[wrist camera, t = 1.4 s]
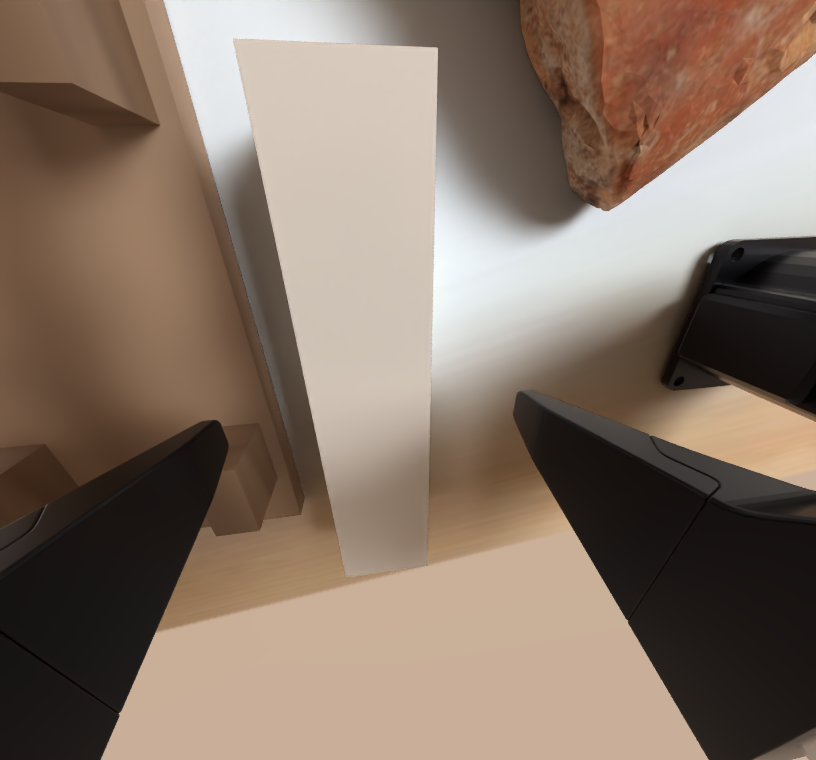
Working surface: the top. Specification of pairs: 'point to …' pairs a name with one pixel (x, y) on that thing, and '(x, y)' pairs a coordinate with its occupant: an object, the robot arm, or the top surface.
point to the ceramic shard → (655, 77)
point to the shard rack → (119, 269)
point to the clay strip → (356, 270)
